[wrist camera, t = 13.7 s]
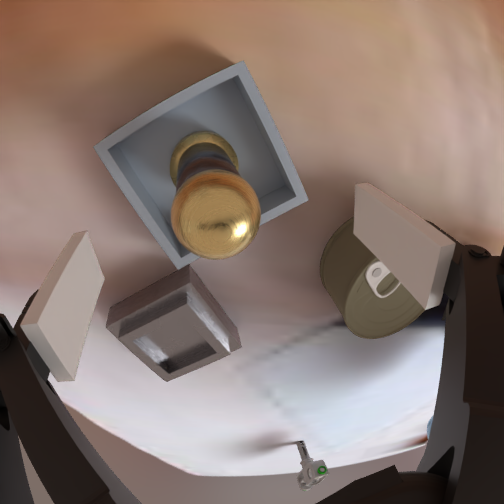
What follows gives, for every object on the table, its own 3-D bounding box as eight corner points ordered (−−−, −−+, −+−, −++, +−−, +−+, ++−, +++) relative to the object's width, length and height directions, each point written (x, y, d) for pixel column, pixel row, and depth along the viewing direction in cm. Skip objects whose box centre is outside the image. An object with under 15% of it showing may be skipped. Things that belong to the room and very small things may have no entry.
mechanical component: (286, 453, 57) (299, 492, 48) (301, 431, 52) (316, 475, 44) (299, 451, 58) (312, 490, 49) (315, 429, 53) (331, 472, 45)
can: (357, 314, 39) (382, 351, 33) (295, 271, 33) (319, 313, 27) (422, 246, 35) (457, 276, 30) (374, 185, 30) (415, 212, 24)
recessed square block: (189, 264, 30) (190, 290, 26) (236, 328, 35) (243, 355, 32) (110, 307, 31) (103, 335, 27) (164, 361, 36) (165, 388, 32)
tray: (235, 63, 22) (243, 60, 19) (294, 186, 28) (308, 200, 25) (104, 138, 23) (92, 146, 20) (177, 248, 29) (177, 269, 26)
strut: (165, 137, 23) (147, 188, 12) (230, 126, 24) (275, 166, 13) (176, 197, 26) (174, 293, 15) (238, 186, 26) (282, 272, 15)
